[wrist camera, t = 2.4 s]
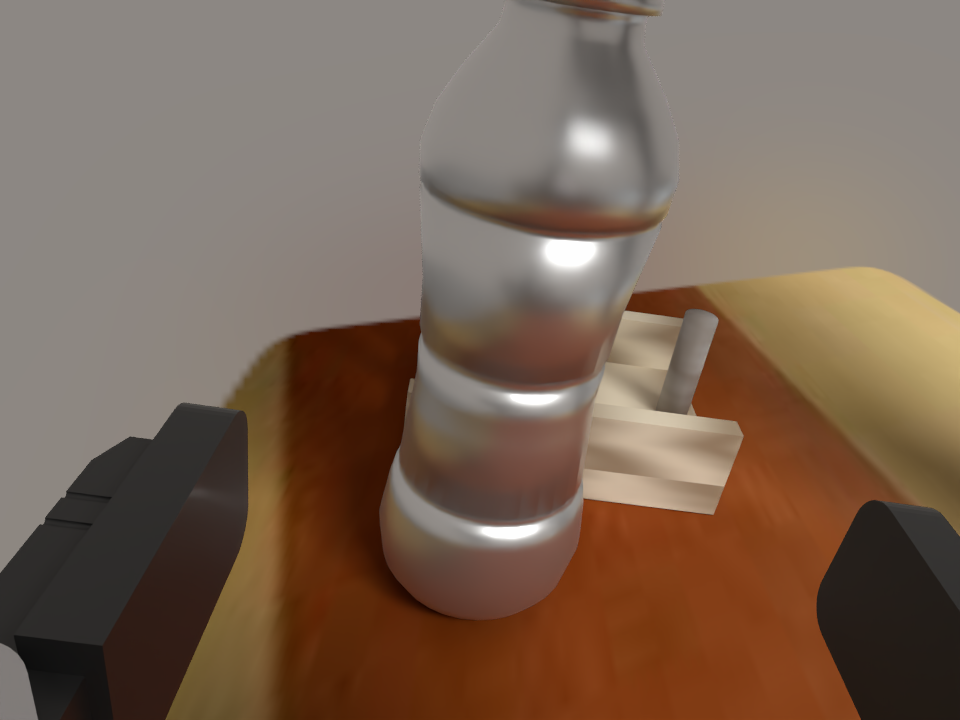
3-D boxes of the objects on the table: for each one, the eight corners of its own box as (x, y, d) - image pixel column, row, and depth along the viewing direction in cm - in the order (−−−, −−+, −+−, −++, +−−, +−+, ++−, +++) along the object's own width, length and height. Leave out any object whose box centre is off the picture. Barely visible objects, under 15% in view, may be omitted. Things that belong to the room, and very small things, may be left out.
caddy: (667, 386, 39) (702, 273, 36) (713, 514, 30) (764, 381, 27) (423, 353, 39) (436, 236, 35) (399, 474, 30) (413, 334, 27)
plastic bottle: (363, 515, 28) (410, -115, 18) (533, 503, 30) (662, -72, 20) (388, 662, 22) (477, -119, 12) (594, 635, 24) (813, -59, 14)
